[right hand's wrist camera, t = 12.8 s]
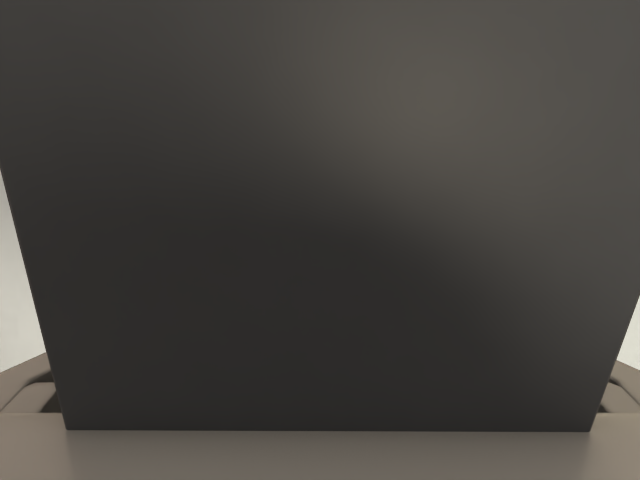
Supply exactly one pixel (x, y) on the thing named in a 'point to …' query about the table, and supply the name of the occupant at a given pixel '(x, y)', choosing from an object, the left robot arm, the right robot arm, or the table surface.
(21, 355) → the table surface
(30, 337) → the table surface
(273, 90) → the box
